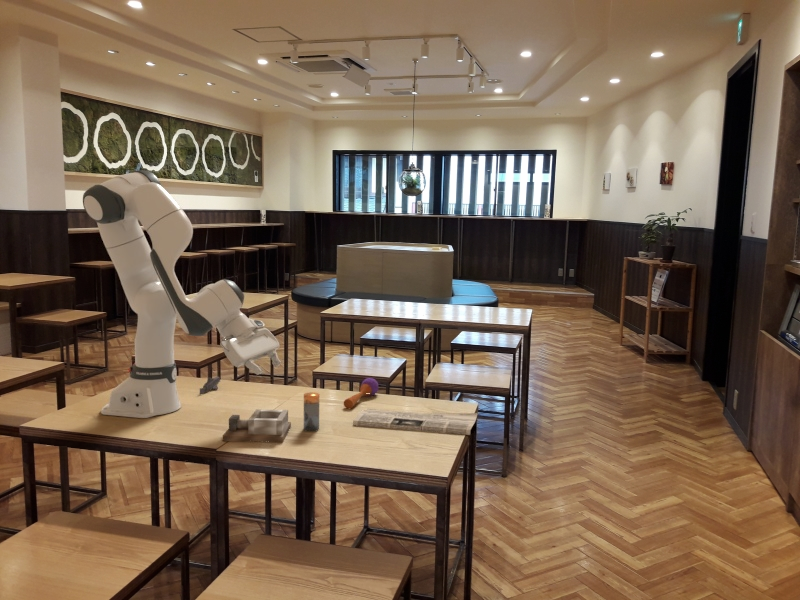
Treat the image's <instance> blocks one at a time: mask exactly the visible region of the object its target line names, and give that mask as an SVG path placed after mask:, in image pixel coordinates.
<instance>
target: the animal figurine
mask: <svg viewBox="0 0 800 600" xmlns="http://www.w3.org/2000/svg"><path fill="white" fill-rule="evenodd" d="M220 382H221V377H220V376H215V377H209V376H208V377H207V380H206V382H205V383H204V385H202V387H201V388H199V395H200V394H203V393H204V394H205V393H208V392H210V391H211V390H214V391H216V390H215V389H218V390H219V387H218V385H219V383H220ZM204 394H203V395H204Z"/></svg>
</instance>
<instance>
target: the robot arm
mask: <svg viewBox="0 0 800 600" xmlns="http://www.w3.org/2000/svg"><path fill="white" fill-rule="evenodd" d="M82 204H83V206H82V207H83V208H84V210H85V211H84V212H85V213H86V214H87V216H88V217H89V218H90V219H91V220H93V222H94V221H95V222H96V224H97V227H98V228H97V229H98V231H99V234H100V237H101V240H102V241H103V245H104V247H105V249H106V252H107V254H108V255H109V257H110V259H111V262H112V264H113V266H114V269H115V270H116V272H117V275H118V277H119V280H120V284H121V286H122V289H123V292H124V294H125V296H126V299H127V302H128V304H129V307H130V308H131V310H132V311H133V312H134V313H135V314H136V315H137V325H136V332H135V338H134V359H135V360H134V361H135V362H134V363H133V364H132V365H131V366H130V367H129V368H127V369H126V370H127V373H129V377H127V378H126V379H125V380H124V381H122V382H121V383H120V384H118V385H116V387H115V388H114V389H112V391H111V393H110V396H109V402H108V403H107V404H105V405H103V406H102V408H101V410H100V414H101V415H104V416H105V415H106V416H118V417H126V418H127V417H128V418H139V419H149V418H152V417H154V416H155V417H156V416H160V415H165V414H170V413H172V412H176V411H178V410H179V409H181V407H182V404H181V401H180V399H179V398H180V397H179V394H178V389H177V384H176V382H177V366H176V365H177V364H176V361H175V330H176V325H177V322H178V325H179V326H180V328H181V329H182V330H183V331H184V332H185V333H186V334H187V335H189V336H192V337H204V336H205V335H206V334H207V333H209V332H210V331H212V329H213V328H214V327H216V328H217V331H218V332H219V335H220V336H221V337H222V338H220V341H219V344H220V346H221V347H222V351H223V353H224V354H225V356H226V358H227V359H228V361H229V362H230V363H231V365H232V366H233V367H235V368H239V367H242V366H244V365H245V367H246V368H247V369H249V370H250V371H252V372H254V373H255V375H256V376H257V375H261V374H262V373H263V372H264V368H262V366H261V365H258V364H256V363H255V361H256V360H259V359H263V358H264V357H267V356H268V358H269V359H270V358H271V361H272V362H271V364H272V365H273V366H274V367H279V366H281V364H282V361H281V360H280V358H279V356H278V353H277V350H279V348H280V347H281V345H280V342H279V340H278V339H277V338H276V336H275V335H274V334H273V333H272V332H271V331H270V330H269V329H268V328H266V327H265V326H266V324H265V322H264V321H262V320H261V319H254V318H249V317H247V315H246V314H245V313H243V312H242V311H241V310H240V309H241V308H242V307H243V304H244V300H245V293H244V292H243V291H242V290H241V288H240V287H239V286H238V285H237V284H236V283H235V281H232V280H229V279H221V280H218V281H216V282H215V283H210V284H207V285H205V286H203V287H201V289H199V291H198V292H197V294H196V295H195V296H193V297H192V298H188V297H187V295H186V294H185V292H184V290H183V287H182V285H181V283H180V281H179V280H178V277H177V275H176V272H175V266H176V263H177V262H178V259H179V258H180V257H181V256H182V254H183V253H184V251H185V250H187V248H188V246H189V245H190V243H191V240H192V239H193V236H194V235H193V234H194V227H193V224H192V222H191V220H190V218H189V217H188V216H187V214H186V212H185V211H184V209H183V208H182V207H181V206H180V204H179V203H178V202H177V200H176V199H175V198H174V197H173V196H172V195H171V194H170V193H169V192H168V190H166V188H164V187H163V186H162V183H161V181H160V180H159V178H158V177H157V176H156V175H155V174H154V173H153V172H152V171H149V170H145V169H144V170H143V169H142V170H141V169H140V170H133V171H132V172H130V173H129V172H128V173H125V174H120V175H116V176H114V177H111V178H110V179H108V180H105V181H104V182H102V183H99V184H95V185H93V186H91V187H89V188H87V190H85V191H84V192H83V195H82ZM140 224H141V225H142V227H143V228H144V230H145V231H146V232H147V234H148V235H149V238H150V240H151V243H152V248H151V246H150V244H149V242H148V240H147V238H146V235H145V233H144V230H143V229H142V227H141V225H140Z"/></svg>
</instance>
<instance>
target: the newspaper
mask: <svg viewBox="0 0 800 600" xmlns="http://www.w3.org/2000/svg"><path fill="white" fill-rule="evenodd" d="M477 418H478V413H477V412H470V413H469V412H464V413H463V412H460V413H459V412H454V413H452V412H451V413H450V412H444V413H437V412H432V413H429V412H428V413H425V412H424V413H421V412H409V411H408V412H407V411H397V410H388V409H387V410H385V409H375V408H374V409H373V408H367V409H363V410H359V412H358V413H357V415H356V416H355V418H354V419H353V421H352V426H353V425H356V426H355V427H364V426H365V427H366V428H376V427H377V428H378V429H389V428H393V429H392V430H401V429H406V430H405V431H414V430H415V431H414V432H416V431H417V432H427V433H429V432H430V433H442V434H453V435H464V436H465V435H467V436H471V430H472V428H473V426H474V424H475V423H476V420H477ZM365 427H364V428H365ZM377 428H376V429H377Z"/></svg>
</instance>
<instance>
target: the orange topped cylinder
mask: <svg viewBox="0 0 800 600" xmlns="http://www.w3.org/2000/svg"><path fill="white" fill-rule="evenodd" d="M318 429H320V393H319V392H305V393H303V430H304V431H305V430H306V432H317V431H318ZM316 430H317V431H316Z"/></svg>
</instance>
